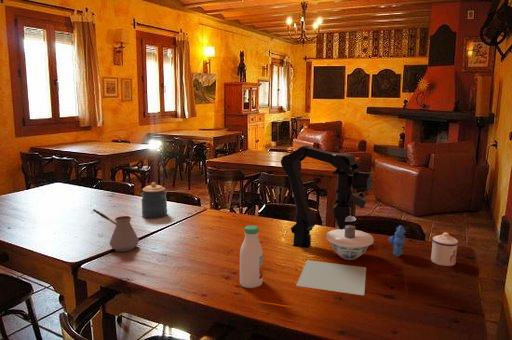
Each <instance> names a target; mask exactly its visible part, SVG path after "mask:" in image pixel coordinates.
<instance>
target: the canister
mask: <svg viewBox="0 0 512 340" xmlns="http://www.w3.org/2000/svg"><path fill="white" fill-rule="evenodd" d="M165 190H166V187H163V186H162V185H160V184H157V183H156V182H155V181H153V182H151V183H150V185H147V186H144V187H143V188H142V190H141V191H142V192H141V194H140V195H141V214H142V218H144V219H162V218H164V217H166V216H167V215H168V203H167V202H168V201H167V199H168V198H167V197H166V196H167V191H165Z"/></svg>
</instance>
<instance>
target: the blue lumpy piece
mask: <svg viewBox="0 0 512 340" xmlns="http://www.w3.org/2000/svg"><path fill="white" fill-rule="evenodd" d="M395 229H396V231H395V232H394V235H391V236H390V237H388V239H387V240H388V242H389V244H392V250H393V252H392V253H393V255H394V256H395V257H396V258H398V257H400V256H401V255H402V253H403V252H404V250H403V249H402V248H403V247H405V243H406V240H405V239H406V236H405V233H406V231H407V230H406V229H405V228H404V226H403V225H399V226H396V228H395Z"/></svg>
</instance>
